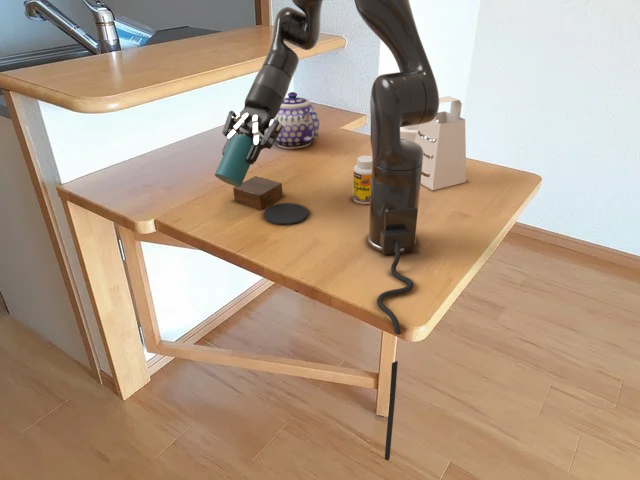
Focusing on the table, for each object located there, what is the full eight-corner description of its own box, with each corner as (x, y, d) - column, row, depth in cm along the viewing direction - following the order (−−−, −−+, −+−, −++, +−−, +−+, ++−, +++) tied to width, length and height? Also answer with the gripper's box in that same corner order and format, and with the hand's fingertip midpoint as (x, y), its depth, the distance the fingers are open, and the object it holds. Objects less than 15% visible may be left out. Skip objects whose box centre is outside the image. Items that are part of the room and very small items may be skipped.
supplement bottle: (348, 201, 122) (349, 160, 116) (359, 192, 126) (360, 152, 121) (370, 207, 119) (372, 164, 114) (380, 197, 123) (382, 156, 118)
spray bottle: (232, 196, 110) (225, 135, 104) (211, 190, 113) (203, 130, 107) (268, 176, 119) (264, 120, 112) (248, 171, 122) (243, 115, 115)
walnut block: (261, 209, 118) (260, 195, 117) (234, 201, 122) (232, 187, 121) (282, 196, 124) (281, 183, 122) (256, 189, 128) (255, 175, 126)
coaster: (311, 222, 113) (311, 220, 113) (267, 227, 111) (266, 225, 111) (303, 203, 121) (303, 201, 121) (262, 207, 120) (262, 205, 119)
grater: (406, 175, 135) (413, 97, 125) (439, 167, 139) (448, 91, 129) (432, 190, 127) (441, 108, 117) (466, 181, 131) (477, 101, 121)
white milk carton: (417, 156, 146) (421, 114, 140) (392, 155, 147) (394, 112, 141) (418, 147, 152) (422, 106, 146) (394, 146, 153) (396, 105, 147)
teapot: (338, 150, 150) (338, 98, 143) (291, 161, 144) (289, 107, 136) (296, 127, 169) (294, 80, 162) (252, 135, 162) (249, 86, 155)
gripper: (234, 78, 116) (202, 145, 113) (286, 86, 109) (254, 158, 106) (251, 97, 122) (222, 160, 120) (302, 105, 115) (271, 173, 113)
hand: (237, 159), depth 113 cm, fingers closed on spray bottle, 6 cm apart
